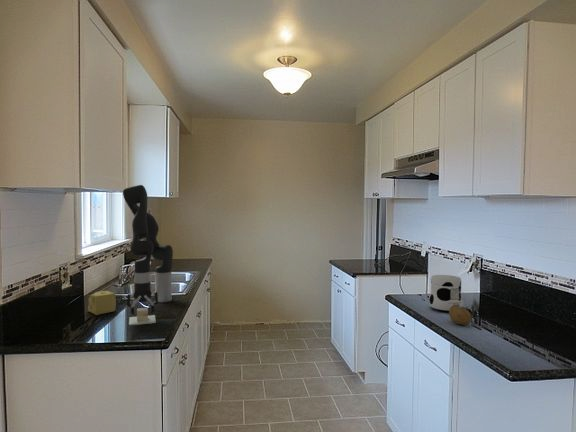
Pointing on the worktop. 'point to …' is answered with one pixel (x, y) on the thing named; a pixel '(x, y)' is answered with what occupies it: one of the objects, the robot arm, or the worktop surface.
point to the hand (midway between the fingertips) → (142, 313)
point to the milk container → (445, 292)
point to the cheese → (102, 302)
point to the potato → (460, 315)
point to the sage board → (134, 321)
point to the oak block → (142, 314)
